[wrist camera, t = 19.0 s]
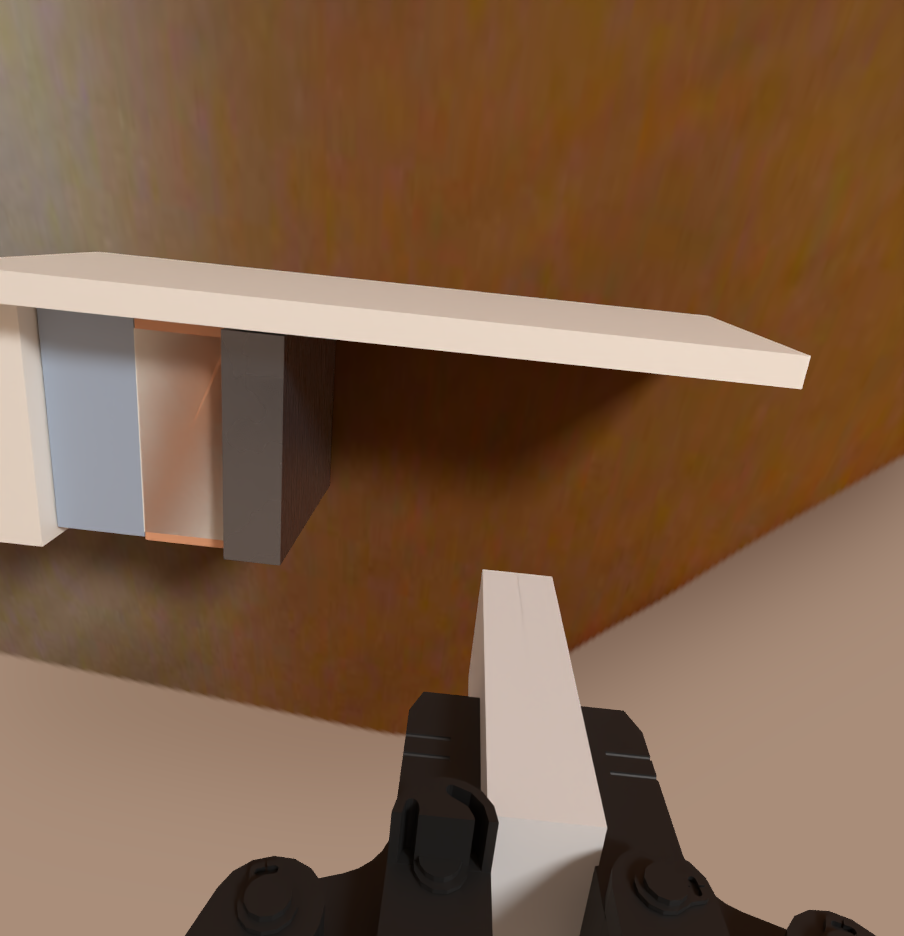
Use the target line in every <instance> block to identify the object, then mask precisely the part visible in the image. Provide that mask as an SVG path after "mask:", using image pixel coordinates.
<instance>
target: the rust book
mask: <svg viewBox="0 0 904 936" xmlns="http://www.w3.org/2000/svg"><path fill="white" fill-rule="evenodd" d="M134 324H135V328H134V347H135V366H136V385H137V404H138V423H139V442H140V461H141V480H142V499H143V518H144V532H145V536H146V540H153V541H162V542H171V543H180V544H189V545H198V546H207V547H216V548H224V547H223V465H222V383H221V329H224V328H223V327H214V326H205V325H195V324H186V323H177V322H167V321H158V320H148V319H139V318H134Z"/></svg>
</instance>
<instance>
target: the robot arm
mask: <svg viewBox="0 0 904 936" xmlns="http://www.w3.org/2000/svg"><path fill="white" fill-rule="evenodd" d="M185 936H875V935H874V934H872V933H871V932H869V931H868V930H866V929H865V928H863V927H862V926H860V925H859V924H857V923H856V922H854V921H853V920H851V919H848V918H846V917H843V916H840V915H838V914H835V913H833V912H830V911H819V910H817V911H816V910H808V911H805V912H803V913H801V914H798V915H796V916H794V918H793V920H792V921H791V923H790V925H789V927H788V928H787V930H786V929H784V928H781V927H778V926H776V925H774V924H771V923H769V922H766V921H764V920H761V919H758V918H756V917H753V916H751V915H748V914H746V913H743V912H741V911H739V910H737V909H735V908H733V907H731V906H729V905H727V904H725V903H724V902H723V901H721V900H720V899H718V898H717V897H716V896H715V894H714V892H713V891H712V889H711V887H710V885H709V883H708V881H707V880H706V878H705V877H704V876H703V875H702V874H701V873H700V872H699V871H698V870H697V869H696V868H695V867H694V866H693V865H692V864H691V863H690V862H688V861H686V860H685V859H684V857H683V855H682V852H681V848H680V845H679V842H678V840H677V836H676V833H675V830H674V827H673V824H672V821H671V818H670V815H669V812H668V810H667V806H666V803H665V800H664V797H663V794H662V791H661V788H660V785H659V782H658V781H657V780H656V773H655V770H654V767H653V764H652V761H650V755H649V752H648V749H647V746H646V743H645V739H644V737H643V733H642V732H641V730H639V728H638V727H637V726H636V725H635V723H634V722H633V721H632V720H631V719H630V718H629V717H628V715H627V714H626V713H625V712H624V711H621V710H611V709H602V708H592V707H582V706H580V702H579V698H578V693H577V688H576V683H575V679H574V674H573V670H572V665H571V661H570V656H569V652H568V647H567V642H566V638H565V633H564V629H563V624H562V620H561V615H560V611H559V606H558V602H557V597H556V592H555V588H554V583H553V579H552V577H550V576H540V575H531V574H521V573H512V572H502V571H493V570H482V578H481V585H480V593H479V601H478V609H477V616H476V624H475V632H474V639H473V647H472V655H471V663H470V670H469V692H468V696H459V695H450V694H440V693H431V692H423V693H422V695H421V696H420V697H419V698H418V700H417V701H416V702H415V703H414V705H413V706H412V707H411V709H410V710H409V716H408V723H407V731H406V739H405V745H404V753H403V760H402V767H401V775H400V782H399V789H398V796H397V800H396V803H395V805H394V808H393V810H392V814H391V825H390V837H389V841H388V843H387V844H386V846H385V848H384V849H383V851H382V852H381V853H380V854H378V855H377V856H376V857H375V858H374V859H373V860H372V861H370V862H369V863H367V864H365V865H364V866H362V867H360V868H358V869H355V870H352V871H349V872H346V873H343V874H338V875H333V876H328V877H323V878H318V877H317V876H316V874H315V873H314V872H313V870H312V869H311V868H310V867H308V866H306V865H304V864H303V863H301V862H299V861H297V860H296V859H291V858H285V857H277V856H272V857H267V858H262V859H257V860H253V861H251V862H249V863H247V864H245V865H244V866H242V867H240V868H238V869H236V870H234V871H233V872H232V873H231V874H230V875H229V876H228V877H227V878H226V879H225V880H224V881H223V882H222V884H220V886H219V887H218V888H217V889H216V891H215V892H214V894H213V895H212V897H211V898H210V899H209V901H208V903H207V904H206V905H205V907H204V908H203V910H202V911H201V913H200V914H199V916H198V917H197V919H196V920H195V922H194V923H193V925H192V926H191V928H190V929H189V931H188V932H187V934H186V935H185Z"/></svg>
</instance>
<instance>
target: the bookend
mask: <svg viewBox="0 0 904 936" xmlns="http://www.w3.org/2000/svg"><path fill="white" fill-rule="evenodd" d="M335 345H336V339H327V338H317V337H308V336H299V335H289V334H280V333H270V332H261V331H252V330H242V329H233V328H224V329H221V383H222V465H223V547H224V559H228V560H237V561H246V562H255V563H264V564H273V565H281V563H282V562H283V560H284V558H285V557H286V555H287V553H288V552H289V550H290V549H291V547H292V545H293V544H294V542H295V541H296V539H297V537H298V536H299V534H300V532H301V531H302V529H303V528H304V526H305V524H306V523H307V521H308V520H309V518H310V516H311V515H312V513H313V511H314V510H315V508H316V507H317V505H318V503H319V502H320V500H321V498H322V497H323V495H324V494H325V492H326V490H327V489H328V487H329V486H330V463H331V439H332V416H333V392H334V369H335Z"/></svg>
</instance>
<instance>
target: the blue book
mask: <svg viewBox="0 0 904 936" xmlns="http://www.w3.org/2000/svg"><path fill="white" fill-rule="evenodd" d="M37 316H38V326H39V336H40V347H41V357H42V367H43V377H44V388H45V398H46V408H47V418H48V429H49V439H50V449H51V460H52V470H53V480H54V490H55V501H56V511H57V521H58V527H65V528H74V529H83V530H92V531H100V532H109V533H118V534H127V535H136V536H145V532H144V518H143V499H142V480H141V461H140V442H139V423H138V404H137V385H136V366H135V347H134V328H135V324H134V318H130V317H120V316H111V315H102V314H92V313H83V312H73V311H64V310H55V309H45V308H37Z"/></svg>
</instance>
